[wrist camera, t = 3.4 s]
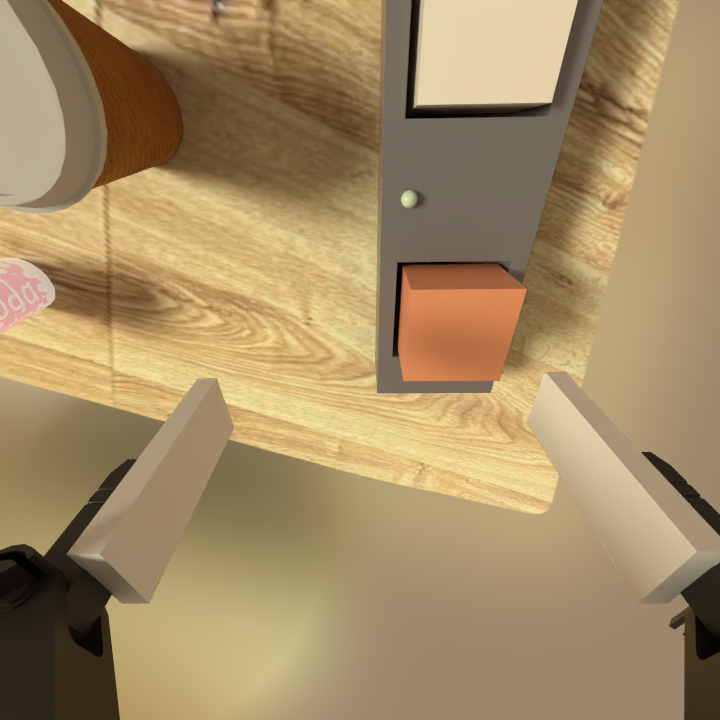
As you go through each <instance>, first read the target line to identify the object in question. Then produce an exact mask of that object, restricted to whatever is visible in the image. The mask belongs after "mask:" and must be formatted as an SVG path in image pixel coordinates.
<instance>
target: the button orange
mask: <svg viewBox="0 0 720 720" xmlns="http://www.w3.org/2000/svg"><path fill="white" fill-rule="evenodd" d="M526 291H527V288H526V287H525V286H523V285H522V284H521V283H520V282H519V281H517V280H516V279H515V278H514V277H513V276H511V275H510V274H509V273H508V272H506V271H505V270H504V269H503V268H502V267H500V266H499V265H498V264H445V265H402V279H401V295H400V311H399V327H398V343H397V347H398V352H399V358H400V364H401V369H402V375H403V381H500V378H501V374H502V371H503V368H504V364H505V361H506V358H507V354H508V351H509V348H510V344H511V341H512V338H513V334H514V331H515V328H516V325H517V321H518V318H519V315H520V311H521V308H522V305H523V301H524V298H525V295H526Z"/></svg>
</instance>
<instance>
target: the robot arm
mask: <svg viewBox="0 0 720 720" xmlns="http://www.w3.org/2000/svg"><path fill="white" fill-rule="evenodd" d="M527 424H528V425H529V427H530V428H531V430H532V432H533V433H534V435H535V437H536V438H537V440H538V441H539V443H540V445H541V446H542V448H543V450H544V451H545V453H546V455H547V456H548V458H549V459H550V461H551V463H552V464H553V466H554V468H555V469H556V471H557V472H558V474H559V476H560V477H561V479H562V481H563V482H564V484H565V485H566V487H567V489H568V490H569V492H570V493H571V495H572V497H573V498H574V500H575V502H576V503H577V505H578V507H579V508H580V510H581V511H582V513H583V515H584V516H585V518H586V520H587V521H588V523H589V525H590V526H591V528H592V529H593V531H594V533H595V534H596V536H597V538H598V539H599V541H600V542H601V544H602V546H603V547H604V549H605V551H606V552H607V554H608V555H609V557H610V559H611V560H612V562H613V563H614V565H615V567H616V568H617V570H618V572H619V573H620V575H621V577H622V578H623V580H624V582H625V583H626V585H627V586H628V588H629V590H630V591H631V593H632V595H633V596H634V598H635V599H636V601H637V603H669V602H670V601H671V600H673V599H674V598H675V597H676V596H678V595H679V594H680V593H681V594H682V596H683V597H684V598H685V600H686V601H687V603H688V604H689V605H690V606H689V607H687V608H686V609H685V610H683V611H682V612H681V613H679V614H678V615H677V616H675V617H674V618H672V619H671V622H670V625H669V626H670V627H671V628H673V629H676V628H678V627H679V626H680V625H682V624H683V623H685V632H684V633H683V635H684V636H685V689H684V693H685V695H684V696H685V697H684V704H685V705H684V707H685V708H684V710H685V712H684V720H720V514H719V513H718V512H717V511H716V510H715V509H714V508H713V507H712V506H710V504H709V503H708V502H707V501H706V500H704V499H701V497H700V494H699V493H697V492H696V490H695V489H694V488H693V487H692V486H691V485H688V484H687V481H686V480H685V479H684V478H683V477H682V476H681V475H680V474H679V473H678V472H677V471H676V470H675V469H674V468H673V467H672V466H670V465H669V464H668V463H666V462H665V461H663V460H662V459H660V458H659V457H657V456H656V455H654V454H653V453H651V452H640V451H639V450H638V449H637V448H636V447H635V445H634V444H633V443H632V442H631V441H630V440H629V439H628V438H627V437H626V436H625V435H624V434H623V433H622V432H621V431H620V430H619V428H618V427H617V426H616V425H615V424H614V423H613V422H612V421H611V420H610V419H609V418H608V417H607V416H606V415H605V413H604V412H603V411H602V410H601V409H600V408H599V407H598V406H597V405H596V404H595V403H594V402H593V401H592V400H591V399H590V398H589V396H588V395H587V394H586V393H585V392H584V391H583V390H582V389H581V388H580V387H579V386H578V385H577V384H576V383H575V382H574V380H573V379H572V378H571V377H570V376H569V375H568V374H567V373H566V372H545V374H544V377H543V380H542V383H541V385H540V388H539V391H538V394H537V396H536V399H535V402H534V405H533V407H532V410H531V413H530V416H529V418H528V421H527ZM233 428H234V426H233V423H232V420H231V417H230V415H229V412H228V409H227V406H226V403H225V400H224V398H223V395H222V392H221V389H220V386H219V384H218V381H217V378H208V379H197V381H196V382H195V383H194V385H193V386H192V387H191V389H190V390H189V391H188V393H187V394H186V395H185V397H184V398H183V399H182V401H181V402H180V403H179V405H178V406H177V407H176V409H175V410H174V411H173V413H172V414H171V415H170V417H169V418H168V419H167V421H166V422H165V423H164V425H163V426H162V427H161V429H160V430H159V431H158V433H157V434H156V435H155V437H154V438H153V440H152V441H151V442H150V443H149V445H148V446H147V447H146V449H145V450H144V452H143V453H142V454H141V455H140V457H139V458H138V459H131V460H130V459H128V460H126V461H125V462H124V463H123V464H121V465H120V466H119V467H118V468H116V469H115V470H114V471H113V472H111V473H110V475H109V476H108V477H107V478H106V480H105V481H104V482H103V483H102V485H101V486H100V487H99V490H98V491H97V492H95V493H94V495H93V496H92V497H91V498H90V500H89V501H88V504H87V505H85V506H84V507H83V508H82V510H81V511H80V512H79V513H78V514H77V516H76V517H75V518H74V519H73V521H72V522H71V523H70V524H69V526H68V527H67V528H66V529H65V531H64V532H63V533H62V534H61V536H60V537H59V538H58V539H57V541H56V542H55V543H54V544H53V546H52V547H51V548H50V549H49V551H48V552H47V553H46V554H45V555H44V557H43V556H42V555H41V554H39V553H38V552H37V551H36V550H35V549H33V548H32V547H30V546H28V545H25V544H22V545H14V546H10V547H7V548H5V549H2V550H0V720H120V717H119V708H118V699H117V689H116V680H115V671H114V662H113V653H112V645H111V636H110V626H109V617H108V613H107V611H106V609H105V605H106V604H107V602H108V600H109V598H110V596H111V595H113V596H114V597H115V598H116V599H117V600H118V601H120V602H121V603H149V602H150V600H151V598H152V596H153V594H154V592H155V590H156V588H157V586H158V584H159V582H160V580H161V577H162V576H163V573H164V571H165V569H166V567H167V565H168V563H169V561H170V559H171V557H172V555H173V553H174V550H175V549H176V546H177V544H178V542H179V540H180V538H181V536H182V534H183V532H184V530H185V528H186V526H187V524H188V522H189V519H190V517H191V515H192V513H193V511H194V509H195V507H196V505H197V503H198V501H199V499H200V497H201V494H202V492H203V490H204V488H205V486H206V484H207V482H208V480H209V478H210V476H211V474H212V471H213V469H214V468H215V465H216V463H217V461H218V459H219V457H220V455H221V453H222V451H223V449H224V447H225V445H226V443H227V441H228V438H229V436H230V434H231V432H232V430H233Z"/></svg>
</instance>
